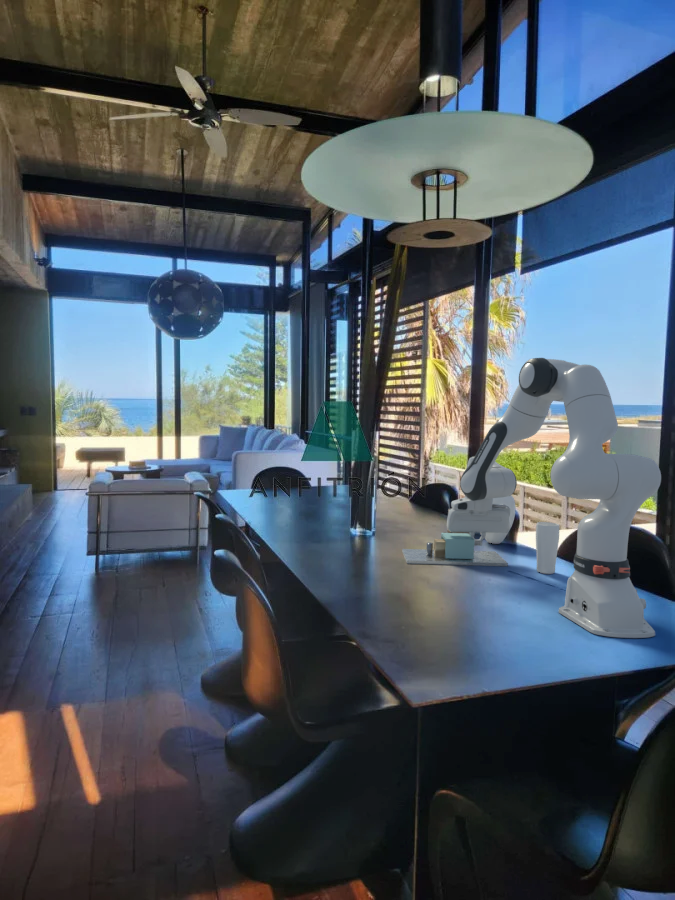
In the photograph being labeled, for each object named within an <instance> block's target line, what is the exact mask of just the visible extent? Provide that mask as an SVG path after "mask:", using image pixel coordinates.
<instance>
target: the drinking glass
mask: <svg viewBox="0 0 675 900" xmlns="http://www.w3.org/2000/svg"><path fill="white" fill-rule="evenodd" d="M559 542H560V524H559V523H556V522H550V521H537V522H536V525H535V551H536V572H538V573H539V572H540V573H539V574H545V575H552V574H555V573H556V562H557V557H558V548H559Z"/></svg>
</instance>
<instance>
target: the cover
mask: <svg viewBox="0 0 675 900" xmlns="http://www.w3.org/2000/svg"><path fill="white" fill-rule="evenodd" d="M440 537H441V538H440V539H445V541H446V547H445V558H454V559H474V551H475V546H474V539H473V538H472V537H471V536H470V535H469V534H468V533H449V532H441V534H440Z"/></svg>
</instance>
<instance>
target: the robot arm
mask: <svg viewBox="0 0 675 900" xmlns="http://www.w3.org/2000/svg"><path fill="white" fill-rule="evenodd" d="M553 402H561V403H563V405H564V406H563V407H564V410H565V411H564V412H565V415H566V421H567V426H568V432H569V433H568V434H569V439H568V445H567V447H566V449H565V451H564V452H563V453H562V454H561V455H560V456H559V457H557V459H556V460H555V461H554V463H553V464H552V467H551V469H550V481H551V485H552V487H553V489H554V490H555V492H557V494H558V495H560V496H563V497H566V498H571V499H576V500H599V502H598V505H597V506H596V508H595V509H594V511H592V512H591V513H590V514H587V515H586V516H584V517H582V518H581V519H580V521H579V523H578V525H577V537H576V539H577V540H576V552H575V554H574V557H573V568H574V571H573V573H572V574H571V575H570V576H569V577H568V579H567V583H566V590H565V597H564V598H565V599H564V606H563V605H562V606H560V607H559V608H558V613H559V614H560V615H562V616H564V617H565V618H567V619H568V620H570V621H572V622H573V623H576V625H579V627H581V628H582V629H583V628H584V629H585V630H586V631H587V632H590V633H591V634H594V635H598V636H604V637H611V638H622V639H623V638H625V639H642V638H644V639H645V638H651V637H652V638H653V637H655V636H656V631H655V630H654V628H653V627H652V626H651V625H650V624H649V623H648V622H647V621H648V620H646V619H645V617H644V613H645V612H644V610H645V609H647V601H646V599H645V598H640V597H639V595H638V589H636V588H635V586H634V584H633V583H632V580H631V578H630V577H631V571H630V570H631V566H630V564H629V559H628V558H627V557H628V545H629V544H628V543H629V535H630V534H629V533H630V528H631V526H632V522H633V519H634V517H635V515H636V513H637V512H638V510H639V509H640V507H641V506H642V505H643V504H644V503H645V502H646V501H647V500H649V498H650V497H652V496H654V495H655V494H656V493H657V491H658V490H659V488H660V486H661V483H662V474H661V473H662V472H661V470H660V468H659V467H660V466H659V465H658V464H657V463H656V461H655V460H654V459H652V458H650V457H648V456H647V457H645V456H642V455H638V454H632V453H606V452H605V451H604V448H603V444H605V443H607V442H608V441H611V439H613V438H614V437H615V435H616V434H617V431H618V427H619V423H618V420H617V415H616V412H615V408H614V403H613V400H612V397H611V394H610V390H609V388H608V385H607V383H606V380H605V378H604V377H603V374H602V373H601V370H600V369H598V368H597V367H595V366H594V365H592V364H578V363H576V362H575V363H574V362H570V361H566V360H562V359H554V358H553V359H552V358H545V357H535V358H529V359H528V360H526V361H525V362H524V363H523V365H522V366H521V369H520V371H519V373H518V386H517V387H516V389H515V390H514V392H513V395H512V398H511V399H510V401H509V404H508V406H507V409H506V410H505V412H504V413H503V414H502V416H501V417H500V418H499V420H497V421H496V423H494V424H493V425H492V426H491V428H489V430H488V432H487V434H486V435H485V437H484V439H483V440H482V443H481V444H480V447H479V448H478V450H477V452H476V453H475V455H473V456H471V457H469V459H468V461H467V465H466V469H465V470H464V471H463V473H462V475H461V477H460V480H459V485H460V489H461V492H462V493H463V495H464V496H465V497H461V498H459V499H455V500H452V501H451V502H450V507H451V508H452V509H450V511H449V513H448V512H447V518H446V529H448V530H449V531H452V532H469V534H470V536H471V537H472V538H473V539H474V547H475V546H477V547H478V546H479V547H482V546H483V541H484V539H485V536H486V532H487V533H507V532H508V531H509V532H510V530H511V528H510V526H509V516H510V508H509V507H508V506H506V505H498V504H493V498H502V497H508V496H511V495H512V496H513V494H514V493H515V491H516V489H517V485H518V482H517V476H516V474H515V472H514V471H513V470H512V469H510V468H508V467H505V466H503V465H502V464H499V463H498V462H497V461H496V460H497V459H498V457H499V455H500V453H501V452H502V451H503V450H504V449H505V448H507V447H508V446H510V445H512V444H514V443H517V442H520V441H523V440H526V439H530V438H531V437H533V436H534V435H536V434H537V433H538V432H539V430H540V429H541V428H542V427H543V425H544V422H545V420H546V418H547V415H548V412H549V411H550V407H551V405H552V403H553ZM506 507H507V508H506ZM509 529H510V530H509ZM509 532H508V533H509ZM476 533H480V535H481V536H480V537H479V539H476V538H475V534H476ZM508 533H507V534H508Z"/></svg>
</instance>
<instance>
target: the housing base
mask: <svg viewBox="0 0 675 900" xmlns="http://www.w3.org/2000/svg"><path fill="white" fill-rule="evenodd" d="M401 552H402V555H403V558H404V560H405V562H406V564H408V565H409V564H411V565H412V564H415V565H416V564H417V565H447V566H448V565H450V566H483V567H484V566H485V567H486V566H487V567H489V566H490V567H508V565H509V563H508V562H507V561H506V560H505V558H503V557H502V556H501V555H500V554H499V553H498V552H497V551H496V550H495V551H493V550H491V551H490V550H488V551H487V550H474V559H454V558H445V557H435V555H434V542H426V549H425V548H424V549H423V548H422V549H420V548H419V549H417V548H401Z"/></svg>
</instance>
